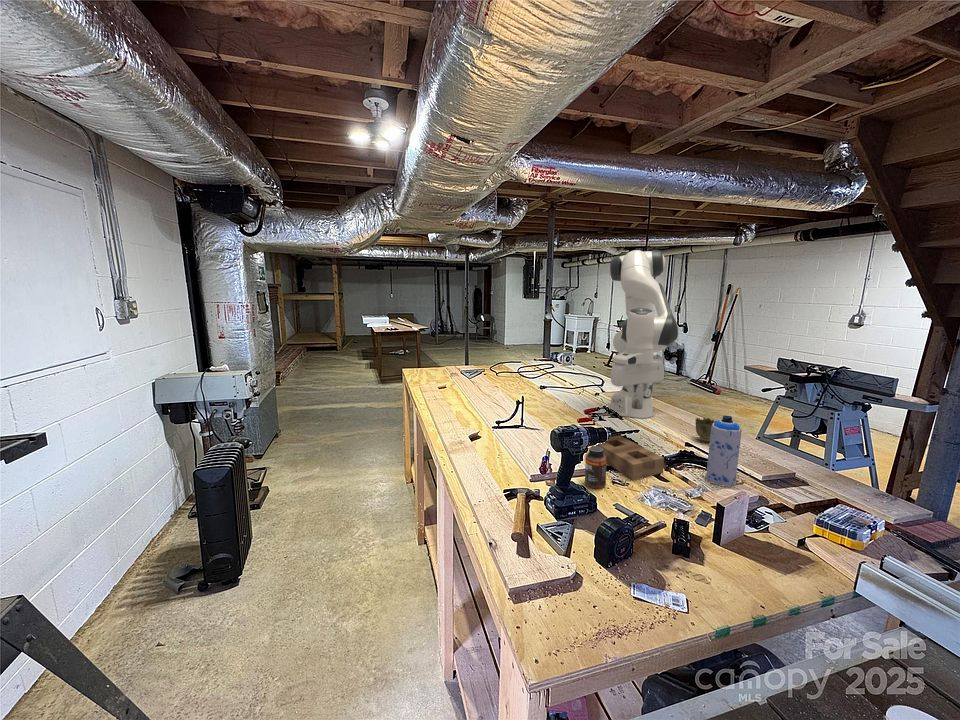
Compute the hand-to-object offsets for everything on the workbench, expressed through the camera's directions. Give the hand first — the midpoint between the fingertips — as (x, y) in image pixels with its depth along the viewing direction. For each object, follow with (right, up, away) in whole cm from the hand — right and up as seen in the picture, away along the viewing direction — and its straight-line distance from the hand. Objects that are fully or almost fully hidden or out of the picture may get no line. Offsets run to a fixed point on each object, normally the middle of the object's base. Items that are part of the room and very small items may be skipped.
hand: (637, 396), depth 131 cm
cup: (+30, -18, +11) cm, 37 cm away
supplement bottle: (-20, -25, -19) cm, 37 cm away
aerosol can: (+18, -24, -18) cm, 34 cm away
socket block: (-6, -22, -5) cm, 23 cm away
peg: (0, -4, +1) cm, 4 cm away
